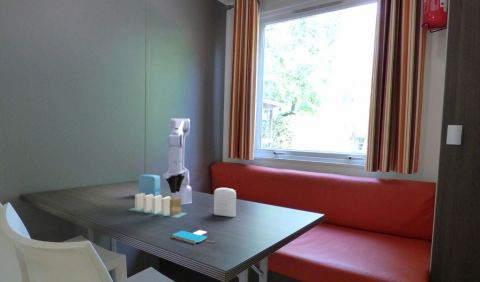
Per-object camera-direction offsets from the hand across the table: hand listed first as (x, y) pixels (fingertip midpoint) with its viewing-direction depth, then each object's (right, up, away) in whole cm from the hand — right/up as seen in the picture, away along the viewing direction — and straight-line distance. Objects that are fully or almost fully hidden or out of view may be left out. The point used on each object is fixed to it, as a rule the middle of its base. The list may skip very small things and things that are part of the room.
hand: (175, 192), depth 131 cm
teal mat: (-9, -10, +4) cm, 14 cm away
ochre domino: (0, -10, 0) cm, 10 cm away
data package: (-22, -9, +36) cm, 43 cm away
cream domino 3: (-9, -10, +4) cm, 14 cm away
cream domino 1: (-18, -9, +8) cm, 22 cm away
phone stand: (+12, -13, -25) cm, 30 cm away
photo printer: (+22, -11, +1) cm, 25 cm away
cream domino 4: (-5, -10, +2) cm, 11 cm away
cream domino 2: (-14, -10, +6) cm, 18 cm away
